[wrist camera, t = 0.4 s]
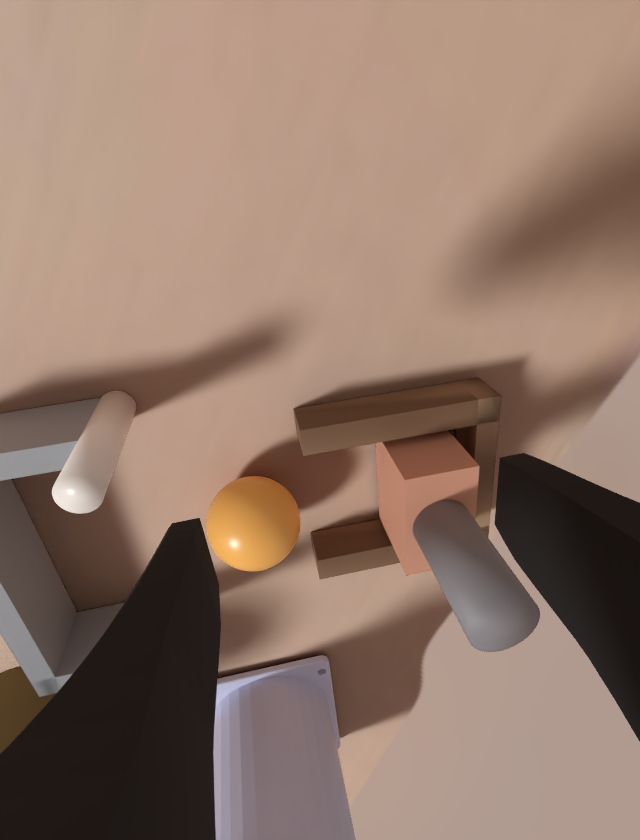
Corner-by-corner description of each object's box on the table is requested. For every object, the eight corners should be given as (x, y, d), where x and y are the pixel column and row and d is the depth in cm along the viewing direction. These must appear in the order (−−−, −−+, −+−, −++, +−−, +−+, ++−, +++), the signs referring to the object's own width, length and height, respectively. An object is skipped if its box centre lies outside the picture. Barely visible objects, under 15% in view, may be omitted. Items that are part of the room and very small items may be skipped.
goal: (198, 604, 25) (191, 720, 20) (64, 632, 24) (19, 760, 19) (130, 388, 19) (95, 470, 14) (-50, 416, 18) (-160, 514, 13)
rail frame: (469, 518, 25) (487, 544, 24) (312, 550, 25) (320, 579, 23) (478, 377, 22) (501, 395, 20) (293, 408, 21) (300, 430, 19)
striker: (436, 505, 24) (538, 665, 16) (379, 516, 24) (456, 685, 16) (438, 419, 22) (559, 557, 14) (375, 430, 22) (462, 578, 14)
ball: (298, 520, 24) (311, 580, 20) (216, 536, 23) (215, 601, 20) (288, 451, 22) (301, 505, 18) (199, 467, 21) (194, 525, 18)
